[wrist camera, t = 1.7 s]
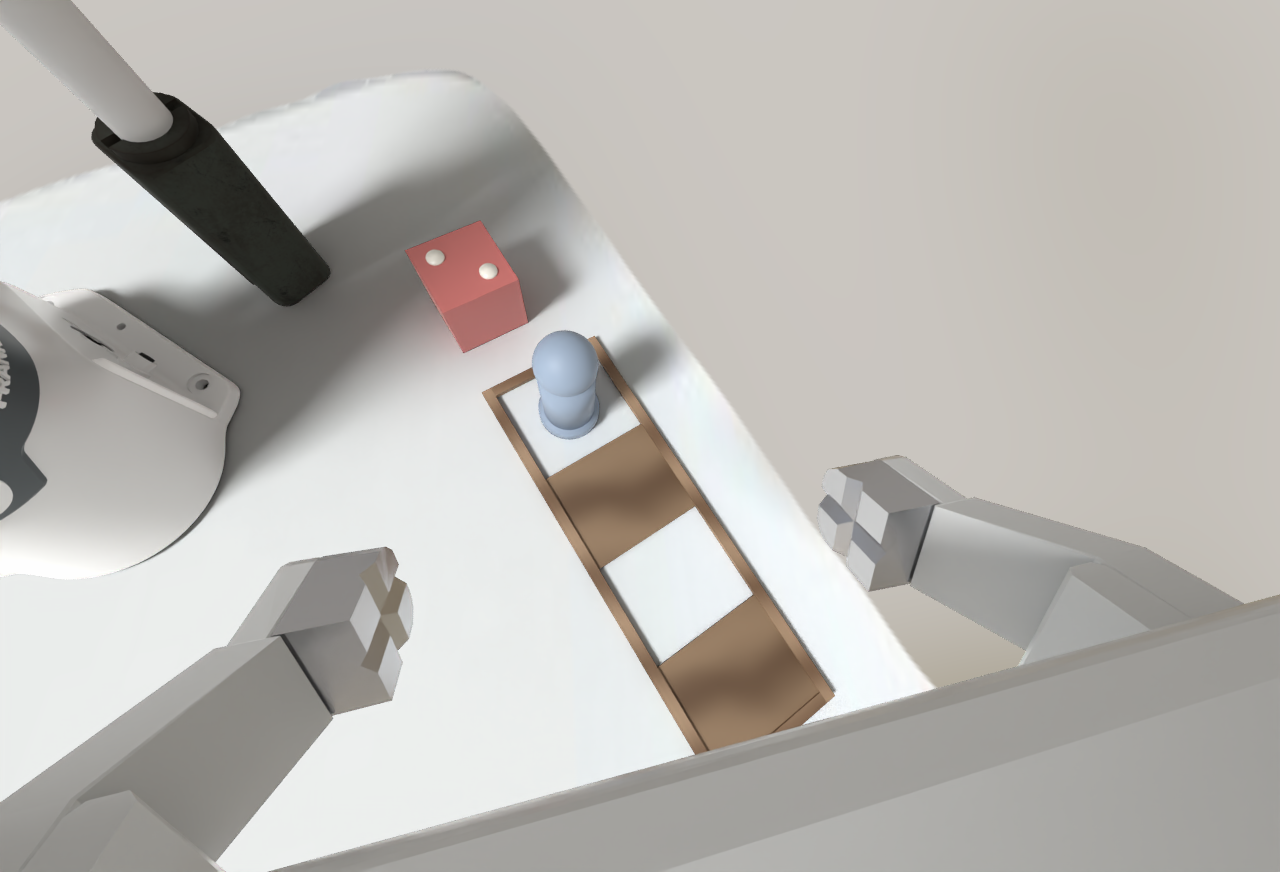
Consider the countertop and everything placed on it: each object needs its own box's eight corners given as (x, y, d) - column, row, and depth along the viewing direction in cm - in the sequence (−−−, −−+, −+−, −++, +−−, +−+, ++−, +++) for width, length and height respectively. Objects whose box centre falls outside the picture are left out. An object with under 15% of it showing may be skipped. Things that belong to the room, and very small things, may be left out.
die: (430, 296, 39) (403, 247, 33) (494, 269, 40) (479, 217, 35) (463, 353, 38) (441, 312, 32) (528, 322, 39) (518, 278, 33)
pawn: (527, 411, 37) (505, 346, 27) (570, 373, 38) (565, 299, 28) (569, 451, 36) (563, 401, 26) (610, 411, 38) (621, 349, 27)
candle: (242, 275, 37) (-346, -242, 14) (293, 238, 39) (-156, -285, 15) (287, 311, 37) (-242, -160, 13) (336, 272, 39) (-56, -214, 15)
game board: (482, 394, 37) (481, 392, 37) (594, 338, 40) (594, 335, 39) (718, 793, 31) (720, 796, 30) (832, 694, 33) (835, 695, 33)
